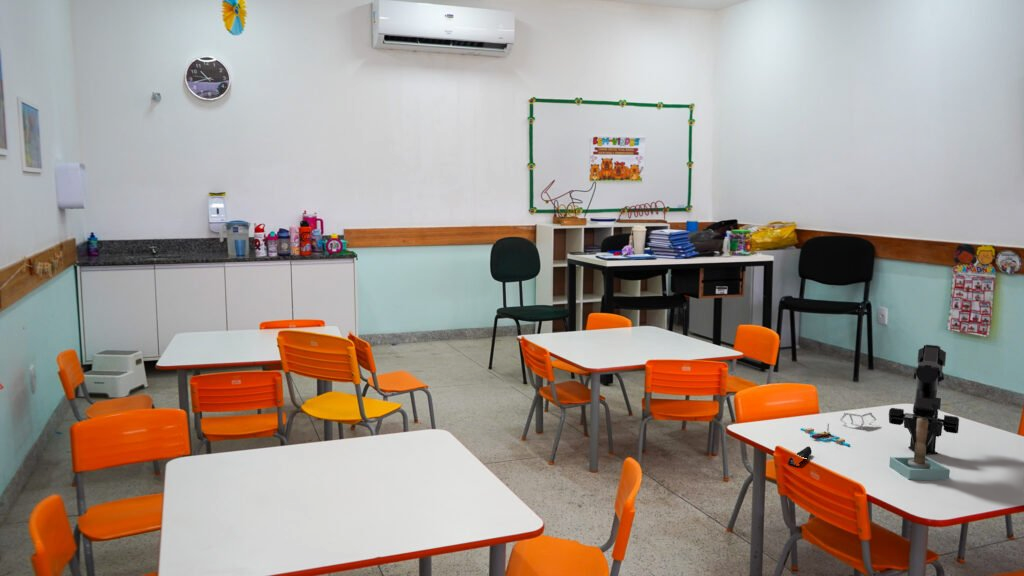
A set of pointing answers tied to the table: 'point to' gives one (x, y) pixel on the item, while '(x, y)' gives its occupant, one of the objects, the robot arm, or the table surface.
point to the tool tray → (919, 474)
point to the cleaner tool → (920, 446)
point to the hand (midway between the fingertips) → (920, 444)
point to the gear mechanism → (825, 436)
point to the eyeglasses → (858, 413)
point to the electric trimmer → (803, 453)
